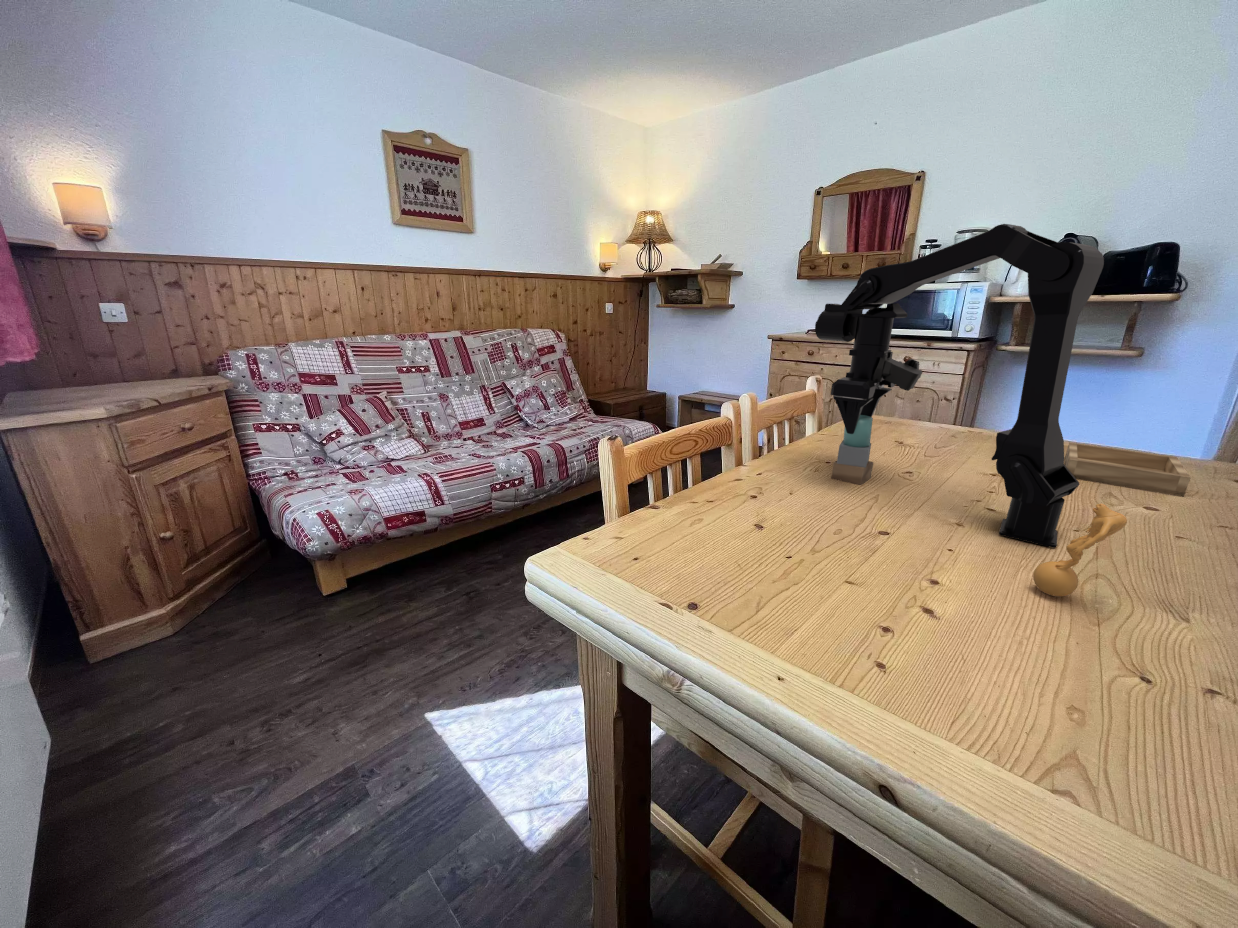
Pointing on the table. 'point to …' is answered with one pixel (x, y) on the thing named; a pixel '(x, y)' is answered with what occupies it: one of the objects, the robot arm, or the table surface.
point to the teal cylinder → (860, 433)
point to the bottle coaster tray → (1127, 468)
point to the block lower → (852, 473)
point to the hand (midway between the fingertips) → (858, 429)
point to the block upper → (853, 455)
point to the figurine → (1077, 554)
